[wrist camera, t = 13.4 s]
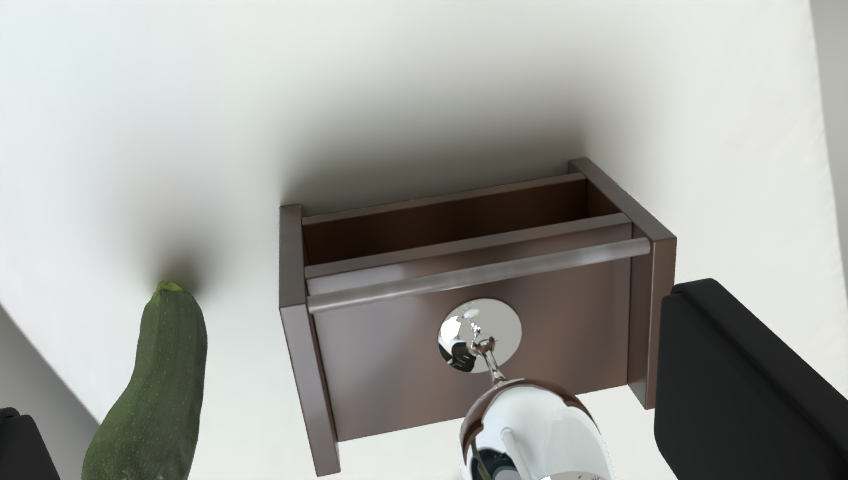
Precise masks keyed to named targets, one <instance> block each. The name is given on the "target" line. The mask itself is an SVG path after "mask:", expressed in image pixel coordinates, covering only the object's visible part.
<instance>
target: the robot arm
mask: <svg viewBox="0 0 848 480" xmlns="http://www.w3.org/2000/svg"><path fill="white" fill-rule="evenodd" d="M654 435H655V440H656V444H657V446H658V449H659V451H660V453H661V454H662V456H663V457H664V459H665V460H666V462H667V464H668V465H669V467H670V468H671V470H672V471H673V473H674V474H675V476H676V477H677V479H678V480H848V400H847V399H846V398H845V397H844V396H842V395H841V394H840V393H839V392H838V391H837V390H836V389H835V388H834V387H833V386H832V385H830V384H829V383H828V382H827V381H826V380H825V379H824V378H823V377H822V376H821V375H819V374H818V373H817V372H816V371H815V370H814V369H813V368H812V367H811V366H810V365H808V364H807V363H806V362H805V361H804V360H803V359H802V358H801V357H800V356H799V355H797V354H796V353H795V352H794V351H793V350H792V349H791V348H790V347H789V346H788V345H787V344H785V343H784V342H783V341H782V340H781V339H780V338H779V337H778V336H777V335H776V334H774V333H773V332H772V331H771V330H770V329H769V328H768V327H767V326H766V325H765V324H763V323H762V322H761V321H760V320H759V319H758V318H757V317H756V316H755V315H754V314H753V313H751V312H750V311H749V310H748V309H747V308H746V307H745V306H744V305H743V304H742V303H740V302H739V301H738V300H737V299H736V298H735V297H734V296H733V295H732V294H731V293H729V292H728V291H727V290H726V289H725V288H724V287H723V286H722V285H721V284H720V283H719V282H717V281H716V280H714V279H712V278H707V279H702V280H696V281H691V282H686V283H680V284H676V285H674V286H673V288H672V290H671V293H670V295H667V296H664V297H663V299H662V301H661V312H660V329H659V347H658V364H657V382H656V400H655V417H654ZM0 480H60V477H59V475H58V473H57V471H56V469H55V466H54V464H53V462H52V460H51V457H50V455H49V453H48V451H47V448H46V446H45V444H44V441H43V439H42V437H41V435H40V432H39V430H38V428H37V426H36V424H35V422H34V420H33V418H32V417H31V416H30V415H21V416H20V414H19V412H18V411H17V410H16V409H14V408H11V407H7V408H3V409H0Z"/></svg>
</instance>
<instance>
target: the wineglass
mask: <svg viewBox="0 0 848 480" xmlns="http://www.w3.org/2000/svg"><path fill="white" fill-rule="evenodd" d="M521 339H522V323H521V320H520V317H519V315H518V314H517V312H516V311H515V310H514V309H513V308H512V307H511V306H510V305H508V304H507V303H505V302H503V301H500V300H497V299H492V298H480V299H474V300H470V301H468V302H465V303H463V304H461V305H459V306H457V307H456V308H455V309H453V310H452V311H451V312H450V313H449V314H448V315H447V316H446V317H445V318H444V320H443V321H442V323H441V325H440V327H439V330H438V333H437V340H436V342H437V349H438V352H439V354H440V356H441V358H442V359H443V360H444V361H445V363H446V364H448V365H449V366H450V367H452V368H453V369H456V370H458V371H461V372H465V373H482V372H487V371H490V373H491V379H492V388H491V389H489V390H488V391H487V392H486V393H484V394H483V395H482V396H481V397H480V398H478V399H477V401H476V402H475V403H474V404H473V405H472V406H471V408H470V409H469V411H468V413H467V415H466V417H465V419H464V421H463V423H462V426H461V429H460V433H459V441H458V454H459V463H460V468H461V473H462V477H463V480H616V476H615V472H614V468H613V465H612V461H611V458H610V455H609V452H608V449H607V446H606V443H605V441H604V438H603V436H602V434H601V431H600V429H599V427H598V425H597V423H596V422H595V420H594V418H593V417H592V415H591V413H590V412H589V411H588V410H587V408H586V407H585V406H584V405H583V404H582V402H581V401H580V400H579V399H578V398H577V397H576V396H575V395H574V394H572V393H571V392H570V391H568V390H567V389H565V388H564V387H562V386H560V385H558V384H556V383H554V382H551V381H547V380H543V379H537V378H519V379H514V380H510V381H509V380H508V379H507V378H505V376H504V375H503V374H502V373H501V371H500V369H499V366H501V365H502V364H504V363H505V362H506V361H508V360H509V359H510V358H511V357H512V356H513V354H514V353H515V352H516V350H517V348H518V347H519V344H520V342H521Z"/></svg>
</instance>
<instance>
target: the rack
mask: <svg viewBox="0 0 848 480" xmlns="http://www.w3.org/2000/svg"><path fill="white" fill-rule="evenodd" d="M676 247H677V237H676V236H675V235H674V234H673V233H672V232H670V231H669V230H668V229H667V228H666V227H665V226H664V225H663V224H661V223H660V222H659V221H658V220H657V219H656V218H655V217H654V216H652V215H651V214H650V213H649V212H648V211H647V210H646V209H645V208H644V207H642V206H641V205H640V204H639V203H638V202H637V201H636V200H635V199H633V198H632V197H631V196H630V195H629V194H628V193H627V192H626V191H624V190H623V189H622V188H621V187H620V186H619V185H618V184H617V183H616V182H614V181H613V180H612V179H611V178H610V177H609V176H608V175H607V174H605V173H604V172H603V171H602V170H601V169H600V168H599V167H598V166H597V165H595V164H594V163H593V162H592V161H591V160H590V159H589V158H587V157H586V158H580V159H574V160H569V174H566V175H560V176H554V177H548V178H542V179H536V180H529V181H523V182H517V183H511V184H505V185H499V186H493V187H487V188H481V189H474V190H468V191H462V192H456V193H450V194H444V195H438V196H432V197H426V198H419V199H413V200H407V201H401V202H395V203H389V204H383V205H377V206H371V207H364V208H358V209H352V210H346V211H340V212H334V213H328V214H322V215H316V216H309V217H303V214H302V209H301V205H300V204H294V205H288V206H282V207H280V220H279V311H280V315H281V320H282V324H283V329H284V333H285V338H286V342H287V346H288V351H289V355H290V360H291V364H292V369H293V373H294V377H295V382H296V386H297V391H298V395H299V400H300V404H301V408H302V413H303V417H304V422H305V426H306V431H307V435H308V439H309V444H310V448H311V453H312V457H313V462H314V466H315V470H316V475H317V477H320V476H325V475H330V474H335V473H339V472H340V471H341V469H340V459H339V449H338V442H342V441H347V440H352V439H357V438H362V437H367V436H372V435H377V434H382V433H387V432H392V431H397V430H402V429H407V428H412V427H417V426H422V425H427V424H432V423H437V422H442V421H447V420H452V419H457V418H462V417H466V415H467V413H468V411H469V409H470V408H471V406H472V405H473V404H474V403H475V402H476V401H477V399H478V398H480V397H481V396H482V395H483V394H484V393H486V392H487V391H488V390H489V389H491V388H492V379H491V373H490V371H487V372H482V373H465V372H461V371H458V370H456V369H453V368H452V367H450V366H449V365H448V364H446V363H445V361H444V360H443V359H442V358H441V356H440V354H439V352H438V349H437V342H436V340H437V333H438V330H439V327H440V325H441V323H442V321H443V320H444V318H445V317H446V316H447V315H448V314H449V313H450V312H451V311H452V310H453V309H455V308H456V307H457V306H459V305H461V304H463V303H465V302H468V301H470V300H474V299H480V298H492V299H497V300H500V301H503V302H505V303H507V304H508V305H510V306H511V307H512V308H513V309H514V310H515V311H516V312H517V314H518V315H519V317H520V320H521V323H522V339H521V342H520V344H519V347H518V348H517V350H516V352H515V353H514V354H513V356H512V357H511V358H510V359H509V360H508V361H506V362H505V363H504V364H502V365H501V366H499V369H500V371H501V373H502V374H503V375H504V376H505V378H507V379H508V380H509V381H510V380H514V379H519V378H537V379H543V380H547V381H551V382H554V383H556V384H558V385H560V386H562V387H564V388H565V389H567V390H568V391H570V392H571V393H572V394H574V395H578V394H583V393H588V392H593V391H598V390H603V389H608V388H613V387H618V386H623V385H627V384H628V386H629V387H630V388H631V390H632V391H633V393H634V394H635V396H636V397H637V399H638V400H639V401H640V403H641V404H642V406H643V407H644V409H645V410H648V409H653V408H655V400H656V382H657V364H658V347H659V329H660V312H661V301H662V299H663V297H664V296H667V295H670V293H671V290H672V288H673V286H674V277H675V262H676Z"/></svg>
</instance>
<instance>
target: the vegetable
mask: <svg viewBox="0 0 848 480" xmlns="http://www.w3.org/2000/svg"><path fill="white" fill-rule="evenodd" d="M207 343H208V342H207V332H206V327H205V322H204V317H203V314H202V310H201V309H200V307H199V305H198V304H197V302H196V300H195V299H194V297H193V296H192V295H191V294H190V293H188V292H186V291H183V289H182V288H181V287H179V286H177V284H175V283H173V282H169V283H168V284H165V283H164V281H162V282H161V283H159V284H158V286H157V291H156V293H154V294H153V296H152V298H151V300H150V301H149V302H148V303H147V304H146V306H145V308H144V311H143V315H142V319H141V325H140V335H139V339H138V344H137V352H136V360H135V368H134V371H133V374H132V377H131V380H130V382H129V384H128V386H127V388H126V389H125V391H124V392H123V393H122V395H121V396H120V397H119V399H118V400H117V401H116V403H115V404H114V405H113V407H112V408H111V409H110V411H109V412H108V414H107V415H106V417H105V419H104V421H103V422H102V424H101V425H100V427H99V429H98V431H97V433H96V434H95V436H94V438H93V440H92V442H91V444H90V446H89V448H88V450H87V452H86V455H85V459H84V462H83V469H82V474H81V480H187V478H188V476H189V473H190V469H191V465H192V462H193V457H194V453H195V448H196V444H197V441H198V433H199V422H200V412H201V407H202V401H203V389H204V377H205V365H206V356H207Z"/></svg>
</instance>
